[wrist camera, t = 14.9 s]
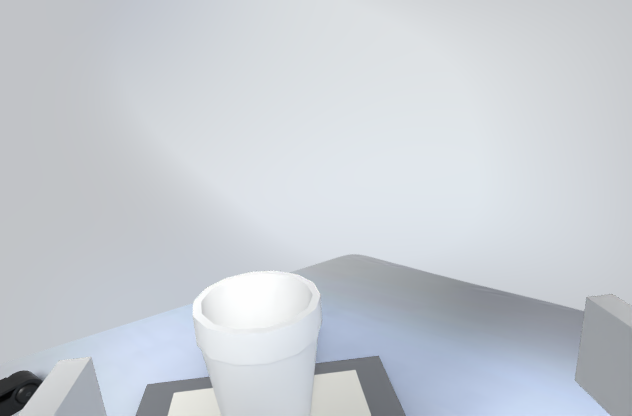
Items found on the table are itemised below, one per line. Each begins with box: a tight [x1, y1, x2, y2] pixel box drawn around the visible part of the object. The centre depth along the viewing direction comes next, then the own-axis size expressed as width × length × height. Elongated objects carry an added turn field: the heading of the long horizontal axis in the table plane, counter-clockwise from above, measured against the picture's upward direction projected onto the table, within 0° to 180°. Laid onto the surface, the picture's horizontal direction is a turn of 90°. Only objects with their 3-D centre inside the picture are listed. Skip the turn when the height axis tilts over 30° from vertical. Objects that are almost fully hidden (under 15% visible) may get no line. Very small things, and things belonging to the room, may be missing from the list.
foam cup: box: [193, 271, 322, 416], centre depth 33 cm, size 10×9×13 cm
